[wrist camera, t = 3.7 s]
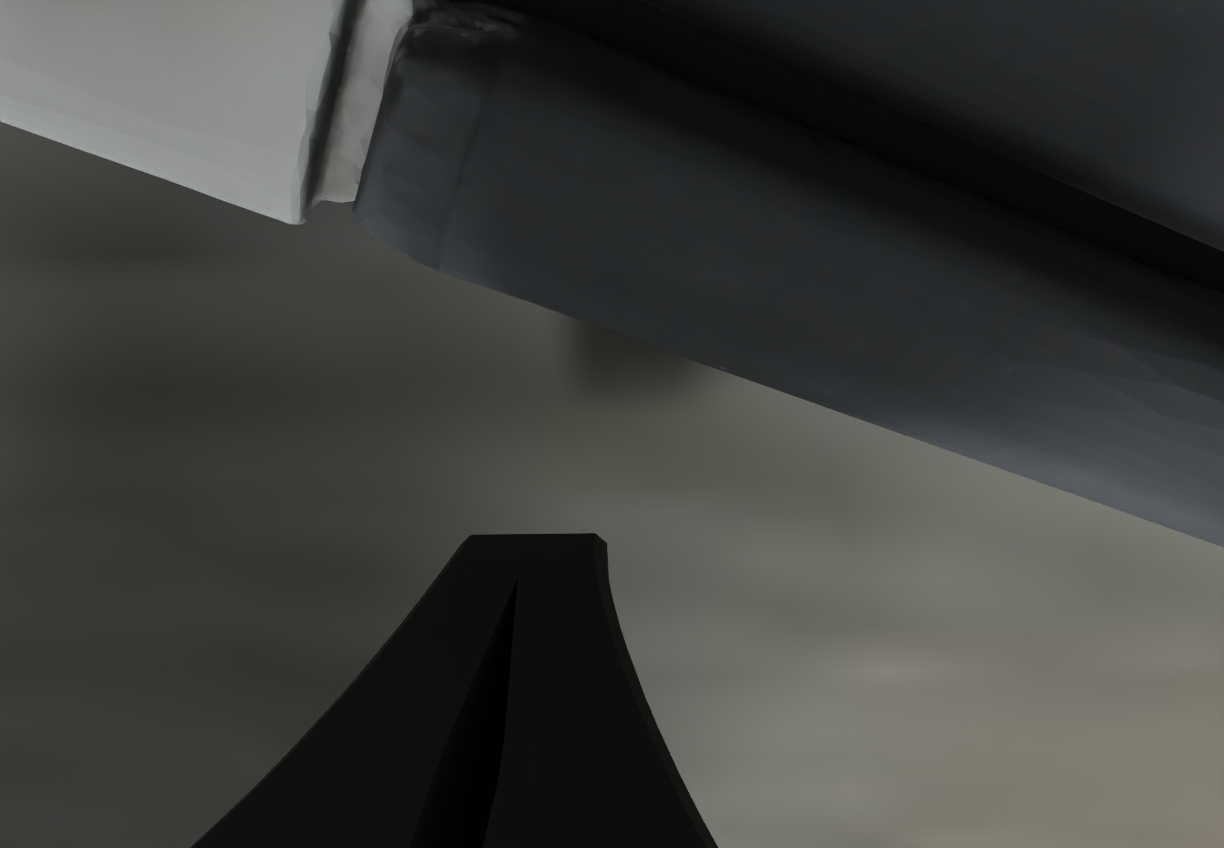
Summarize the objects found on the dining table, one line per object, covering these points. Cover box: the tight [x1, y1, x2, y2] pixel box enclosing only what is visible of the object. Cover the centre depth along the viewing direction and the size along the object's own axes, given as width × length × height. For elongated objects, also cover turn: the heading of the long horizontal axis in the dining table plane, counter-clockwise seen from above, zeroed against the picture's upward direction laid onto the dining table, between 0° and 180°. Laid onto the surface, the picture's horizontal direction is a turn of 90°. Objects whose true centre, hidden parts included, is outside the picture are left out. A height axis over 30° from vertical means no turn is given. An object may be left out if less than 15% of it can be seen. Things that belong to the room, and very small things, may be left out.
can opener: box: [0, 0, 1224, 547], centre depth 6 cm, size 19×5×6 cm, turn 69°
